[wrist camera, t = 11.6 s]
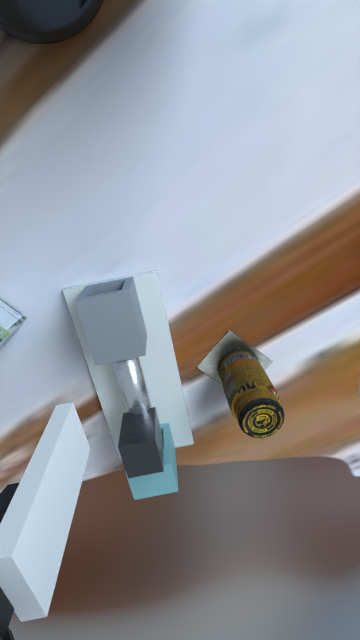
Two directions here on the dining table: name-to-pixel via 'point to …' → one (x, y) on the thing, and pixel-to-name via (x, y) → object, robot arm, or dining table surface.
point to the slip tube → (138, 422)
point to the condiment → (245, 385)
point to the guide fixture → (130, 342)
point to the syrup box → (9, 322)
